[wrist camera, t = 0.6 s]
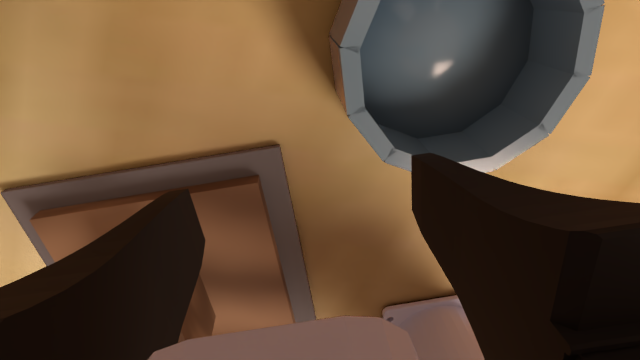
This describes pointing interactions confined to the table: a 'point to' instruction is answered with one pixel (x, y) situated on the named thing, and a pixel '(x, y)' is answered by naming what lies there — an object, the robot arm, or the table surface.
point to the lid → (218, 260)
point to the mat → (177, 176)
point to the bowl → (461, 73)
